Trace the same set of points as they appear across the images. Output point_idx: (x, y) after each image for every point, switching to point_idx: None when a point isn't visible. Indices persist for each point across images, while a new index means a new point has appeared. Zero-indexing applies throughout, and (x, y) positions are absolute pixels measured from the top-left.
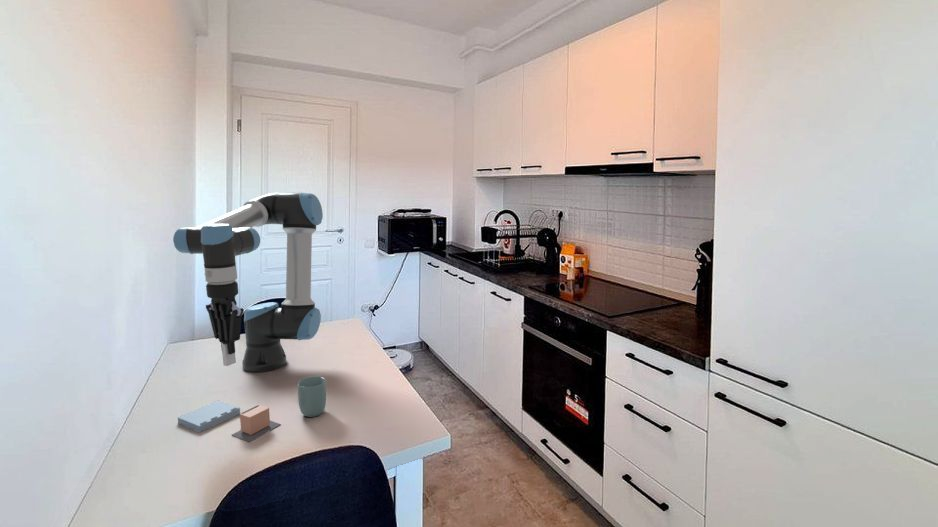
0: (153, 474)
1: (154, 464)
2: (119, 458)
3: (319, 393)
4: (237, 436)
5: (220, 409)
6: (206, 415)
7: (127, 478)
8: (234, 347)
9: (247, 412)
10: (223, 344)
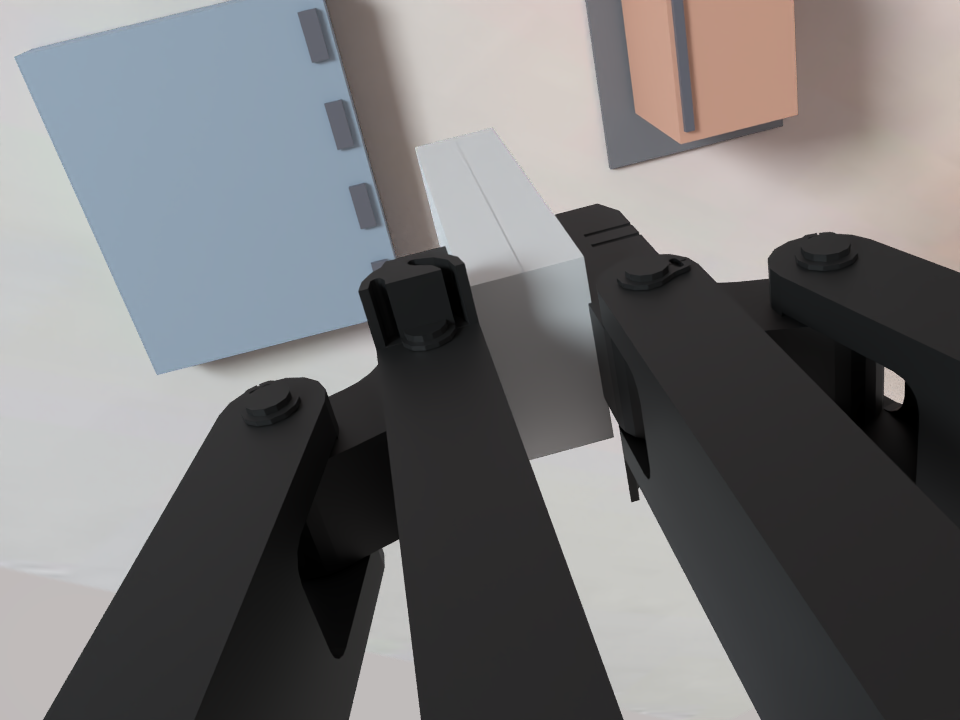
0: (655, 541)
1: (571, 525)
2: (382, 618)
3: None
4: (664, 151)
5: (235, 115)
6: (272, 228)
7: (595, 611)
8: (646, 246)
9: (708, 89)
10: (566, 437)
